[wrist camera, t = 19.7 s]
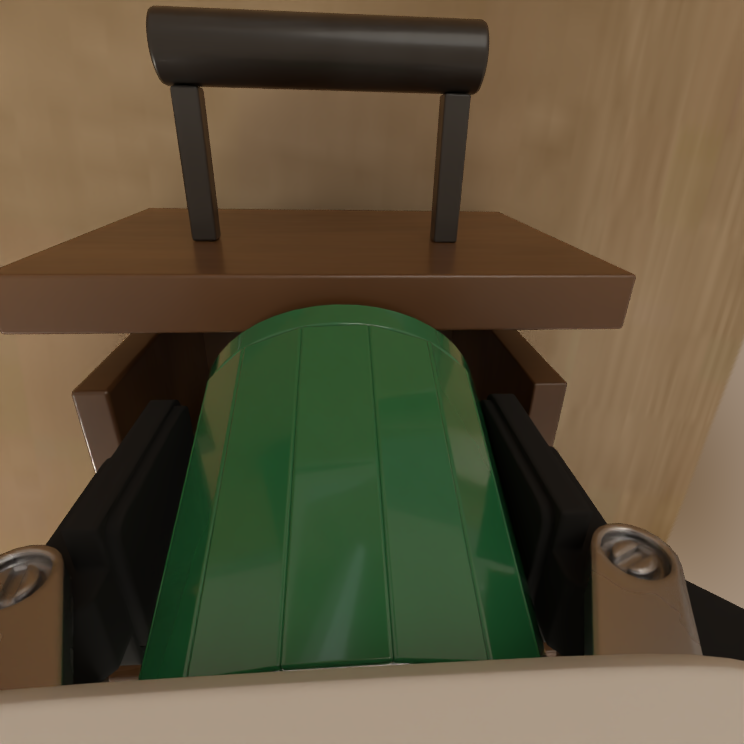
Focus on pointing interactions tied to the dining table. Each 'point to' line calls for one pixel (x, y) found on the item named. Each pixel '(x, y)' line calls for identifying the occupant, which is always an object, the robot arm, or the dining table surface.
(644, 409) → the dining table surface
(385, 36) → the drawer
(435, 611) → the pot
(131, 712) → the robot arm
